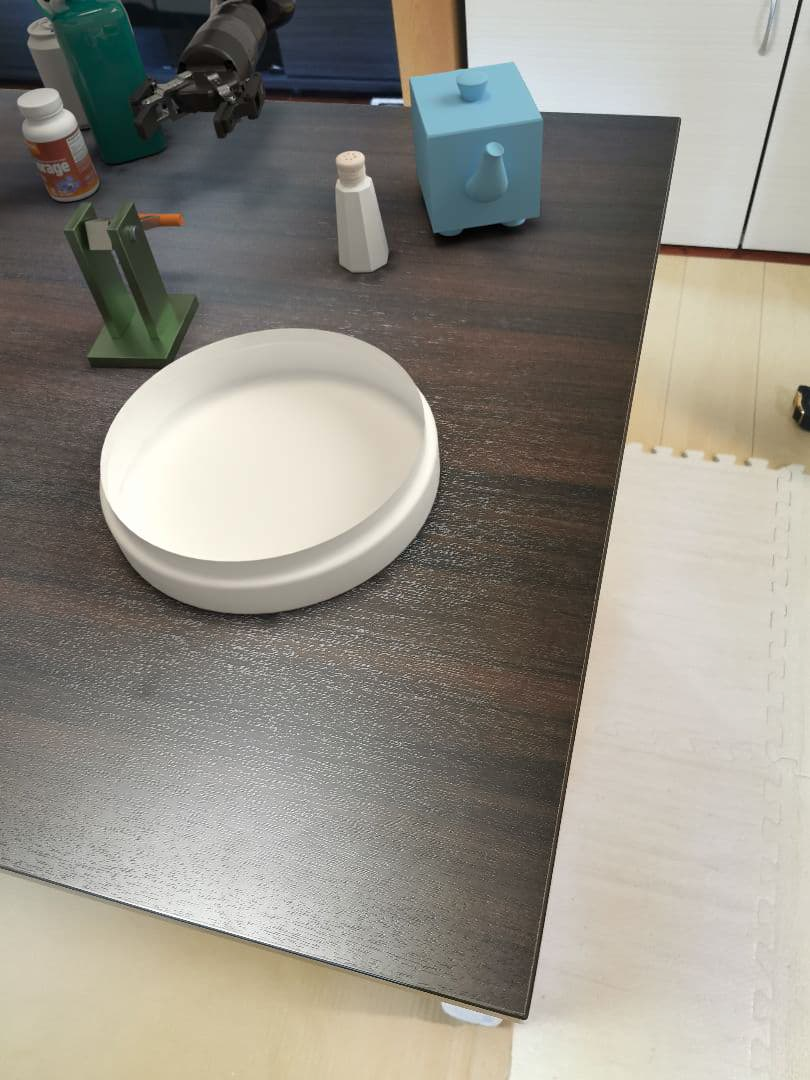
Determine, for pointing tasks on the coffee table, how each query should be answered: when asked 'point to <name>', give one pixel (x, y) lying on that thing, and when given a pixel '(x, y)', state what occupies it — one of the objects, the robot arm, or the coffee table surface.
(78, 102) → the can
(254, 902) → the coffee table surface
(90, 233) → the lever
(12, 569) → the coffee table surface
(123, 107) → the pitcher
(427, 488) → the white round dish
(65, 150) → the pill bottle
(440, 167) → the teapot
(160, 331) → the bracket
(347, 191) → the salt shaker
